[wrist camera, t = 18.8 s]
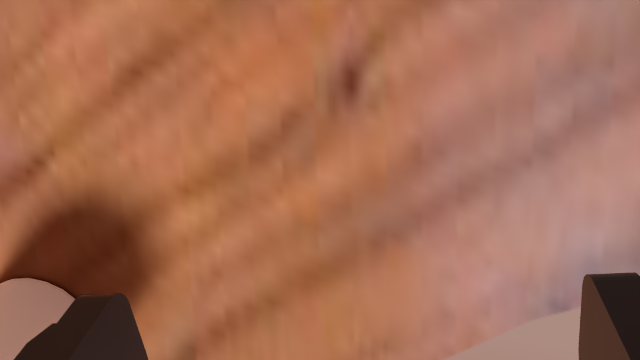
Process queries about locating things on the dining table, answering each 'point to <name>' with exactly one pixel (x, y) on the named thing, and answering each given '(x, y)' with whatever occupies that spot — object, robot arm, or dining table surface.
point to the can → (28, 312)
